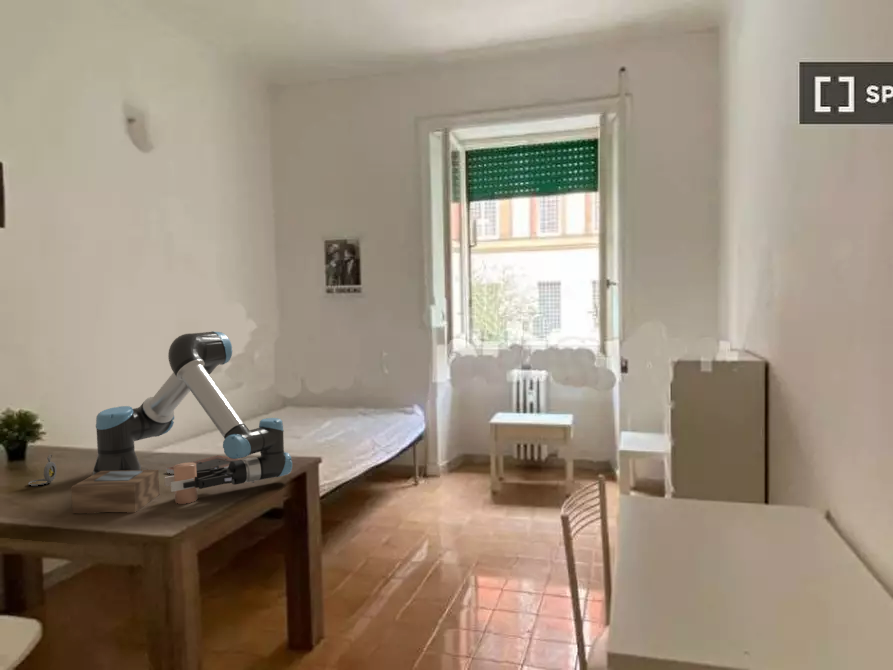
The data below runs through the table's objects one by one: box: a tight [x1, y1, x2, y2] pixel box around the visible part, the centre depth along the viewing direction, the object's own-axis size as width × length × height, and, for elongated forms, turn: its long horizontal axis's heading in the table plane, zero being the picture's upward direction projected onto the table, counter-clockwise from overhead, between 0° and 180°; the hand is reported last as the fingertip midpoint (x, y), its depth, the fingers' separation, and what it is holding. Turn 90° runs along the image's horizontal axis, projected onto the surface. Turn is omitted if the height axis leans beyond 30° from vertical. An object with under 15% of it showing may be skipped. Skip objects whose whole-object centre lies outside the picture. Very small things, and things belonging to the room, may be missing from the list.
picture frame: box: [166, 455, 240, 475], centre depth 237 cm, size 16×2×22 cm
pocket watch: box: [27, 454, 58, 487], centre depth 220 cm, size 8×8×10 cm
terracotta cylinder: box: [173, 462, 199, 505], centre depth 199 cm, size 6×6×11 cm
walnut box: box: [70, 469, 160, 514], centre depth 198 cm, size 17×18×8 cm
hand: (168, 484), depth 196 cm, fingers closed on terracotta cylinder, 6 cm apart
